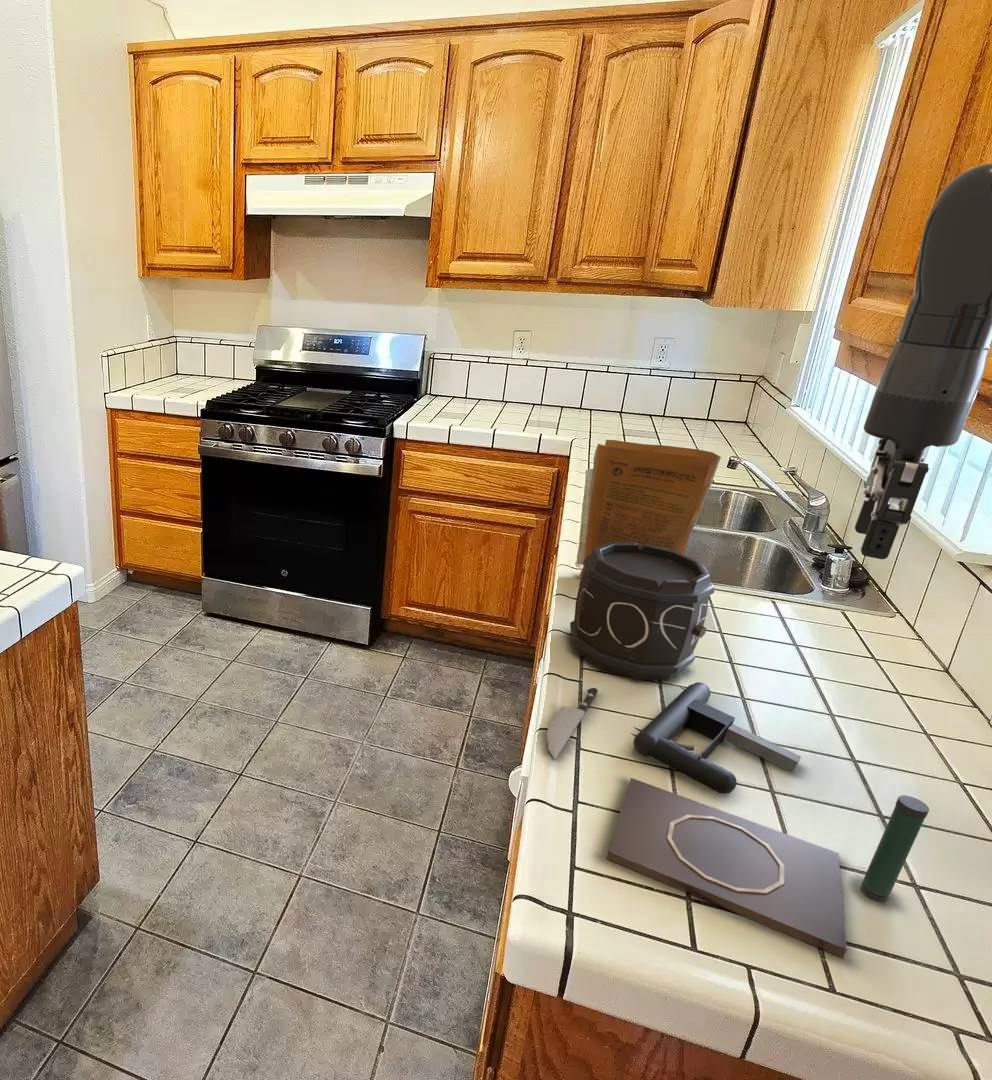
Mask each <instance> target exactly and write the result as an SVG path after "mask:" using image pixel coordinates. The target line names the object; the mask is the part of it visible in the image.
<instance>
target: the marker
mask: <svg viewBox="0 0 992 1080" xmlns="http://www.w3.org/2000/svg"><path fill="white" fill-rule="evenodd" d="M929 812H930V807H929V806H928V804H926V803H925V802H923V801H922V800H920V799H918V798H916V797H913V796H910V795H905V794H904V795H899V796H898V797H897V799H896V802H895V806H894V808H893V811H892V813H891V815H890V817H889V820H888V822H887V824H886V826H885V828H884V831H883V833H882V836H881V838H880V840H879V843H878V845H877V847H876V849H875V852H874V854H873V857H872V858H871V861H870V863H869V866H868V868H867V870H866V873H865V874H864V877H863V879H862V881H861V884H860V891H862V893H863V894H864V895H866V896H867V897H868V898H870V899H872V900H875V901H877V902H886V901H888V900H889V898H890V896H891V893H892V891H893V890H894V887H895V885H896V882H897V880H898V878H899V876H900V873H901V871H902V870H903V867H904V865H905V863H906V860H907V859H908V856H909V855H910V852H911V849H912V847H913V845H914V843H915V841H916V839H917V836H918V834H919V833H920V830H921V828H922V825H923V824H924V821H925V819H926V818H927V816H928V814H929Z"/></svg>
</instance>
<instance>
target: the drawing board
mask: <svg viewBox="0 0 992 1080" xmlns="http://www.w3.org/2000/svg"><path fill="white" fill-rule="evenodd" d="M839 855H840V854H839V852H838V851H835V850H832V849H829V848H826V847H823V846H821V845H818V844H814V843H812V842H810V841H806V840H804V839H801V838H799V837H796V836H793V835H790V834H787V833H785V832H782V831H779V830H776V829H774V828H771V827H769V826H766V825H762V824H759V823H757V822H755V821H752V820H750V819H749V820H748V819H746V818H743V817H740V816H737V815H735V814H732V813H731V812H730V813H729V812H726V811H724V810H721V809H718V808H715V807H712V806H710V805H708V804H704V803H701V802H699V801H697V800H693V799H690V798H688V797H685V796H683V795H679V794H677V793H674V792H672V791H670V790H669V791H668V790H666V789H663V788H660V787H657V786H655V785H653V784H649V783H647V782H644V781H641V780H638V779H636V778H633V777H630V778H629V781H628V786H627V789H626V792H625V794H624V798H623V801H622V805H621V808H620V811H619V815H618V818H617V821H616V824H615V828H614V831H613V834H612V838H611V841H610V844H609V846H608V850H607V855H606V857H605V858H606V860H608V861H611V862H613V863H615V864H618V865H620V866H623V867H625V868H627V869H630V870H633V871H634V872H637V873H639V874H642V875H645V876H646V877H649V878H652V879H654V880H655V881H656V880H657V881H658V882H661V883H664V884H665V885H668V886H671V887H673V888H675V889H678V890H680V891H682V892H685V893H687V894H690V895H692V896H695V897H697V898H699V899H702V900H704V901H705V902H709V903H711V904H714V905H715V906H718V907H720V908H723V909H726V910H729V911H731V912H733V913H735V914H737V915H740V916H742V917H744V918H747V919H749V920H752V921H755V922H757V923H759V924H761V925H764V926H767V927H768V928H771V929H773V930H776V931H778V932H781V933H783V934H784V935H785V934H786V935H788V936H790V937H793V938H795V939H796V940H800V941H802V942H804V943H806V944H809V945H811V946H815V947H817V948H818V949H821V950H823V951H826V952H829V953H831V954H833V955H835V956H838V957H840V958H845V955H846V953H847V951H848V945H847V936H846V934H847V933H846V925H845V924H846V923H845V922H846V921H845V911H844V899H843V889H842V877H841V864H840V856H839Z"/></svg>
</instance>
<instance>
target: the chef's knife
mask: <svg viewBox="0 0 992 1080" xmlns="http://www.w3.org/2000/svg"><path fill="white" fill-rule="evenodd" d="M586 692H587V693H586V696H585V698H584V699H583V701H581V703H580V704H579V705H578V707H571V706H560V708H559V709H558V711H557V712H556V714H555V716H554V718H553V720H552V721H551V723H549V726H548V728H547V732H546V741H547V748H548V751H549V752H550V753H549V754H551V755H552V757H553V759H554V760H556V759H557V757H558V756H559V754H560V753H561V752H562V750H563V749H564V747H565V745H566V744H567V743H568V741H569V739H570V738H571V736H572V734H573V733H574V732H575V730H576V728H577V727H578V725H579V724H580V723H581V720H582V719H583V717H584V716H585V714H586V712H587V710H588V709H589V707H590V705H591V704H592V702H593V701H594V700H595V698H596V696H597V694H598V692H599V691H598V688H597V687H589V688H588V689H587V690H586Z"/></svg>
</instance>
